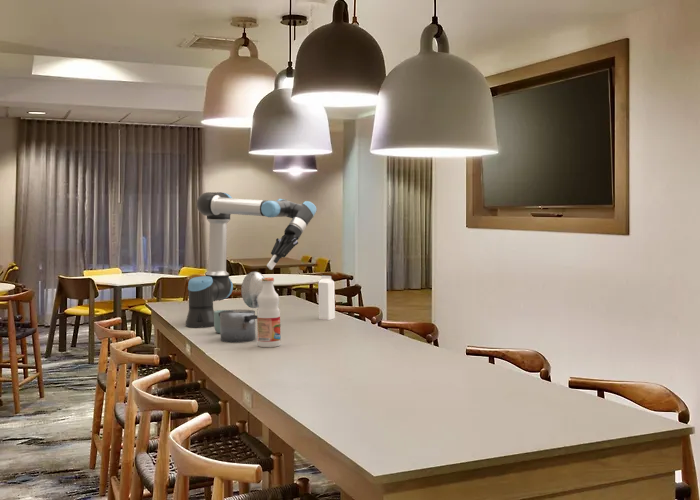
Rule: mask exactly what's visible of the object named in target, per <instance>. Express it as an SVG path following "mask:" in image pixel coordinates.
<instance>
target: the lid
mask: <svg viewBox="0 0 700 500" xmlns="http://www.w3.org/2000/svg"><path fill="white" fill-rule="evenodd" d="M262 278H265V276H264V275H263V274H262V273H261V272H258V271H251V272H249V273H247V274H246V276H244V279H243V281H242V283H241V290H240V292H241V297H242V301H243V302H244V304H245V305H246V307H248V308H251V309H258V307H259V306H258V302H257V298H258V295H259V294H260V293H261V290H262V287H263V282H262Z"/></svg>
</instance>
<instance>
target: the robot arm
mask: <svg viewBox="0 0 700 500" xmlns="http://www.w3.org/2000/svg"><path fill="white" fill-rule="evenodd" d="M195 204H196V208H197V211H198V212H199V213H200V214H201V215H203V216H206V221H208V222H209V233H208V234H209V239H208V240H209V241H208V242H209V243H208V245H209V246H208V270H207V272H206V273H205V275H203V276H195V277H192V278H190V279H189V280H188V284H187V285H188V286H187V291H188V293H187V294H188V312H187V316H186V319H185V327H188V328H210V327H214V311H215V310H214V302H217V301H218V302H219V301H223V300H225V299H227V298H229V297H230V295H232V293H233V290H234V284H233V282H232V279H231V278H230V273H229V272H227V248H228V247H227V246H228V245H227V244H228V242H227V240H228V238H227V237H228V223H229V222H230V221H231V215H239V216H240V215H242V216H253V217H254V216H255V217H266V218H278V217H279V218H285V217H286V218H289V219H291V220H290V221H289V223H288V225H287V226H286V228H285V229H284V234H283V235H282V236H281V238H276V239H275V244H274V245H273V247H272V250H271V251H270V254H271V258H270V259H269V261H268V262H267V264H266V267H267V268H268V269H269V270H271V271H272V270H273V269H274V267H275V266H276V265H277V263H278V262H279V261H280V259H282V258H285V257H286V256H287V255H288V254H289V253H290V252H291V251H292V249H294V248H295V246H297V245H298V244H299V242H298V240H299V239H300V237H301V236H302V234H303V233H304V231H305V229H306V228H307V226H309V224H310V222H311V221H312V219H313V218H314V216H315V214H316V212H317V207H316V205H315V204H314V203H313V202H312V201H309V200H305V201H304V202H303V203H302V204H301V203H296V202H293V201H290V200H287V199H284V198H283V199H282V198H278V199H276V200H269V199H268V200H265V199H264V200H263V199H250V198H237V197H236V198H235V197H232V196H231V195H230V194H228V193H227V192H219V191H218V192H215V191H214V192H207V191H206V192H204V193H202V194H200V195H199V196H198V198H197V200H196V203H195Z"/></svg>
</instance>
